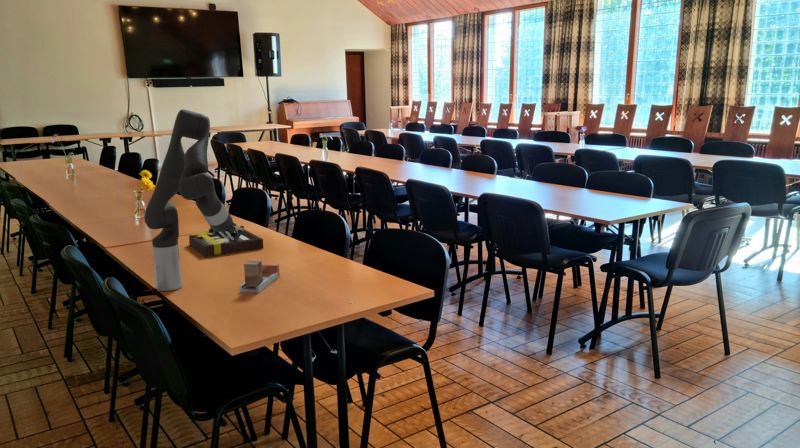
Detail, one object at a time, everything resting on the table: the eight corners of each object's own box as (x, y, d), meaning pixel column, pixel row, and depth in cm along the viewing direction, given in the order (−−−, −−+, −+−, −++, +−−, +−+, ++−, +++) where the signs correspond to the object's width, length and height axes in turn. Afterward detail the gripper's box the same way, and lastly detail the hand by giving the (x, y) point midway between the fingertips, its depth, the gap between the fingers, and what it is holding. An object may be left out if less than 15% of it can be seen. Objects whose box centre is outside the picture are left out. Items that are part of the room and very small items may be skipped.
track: (258, 293, 229) (257, 280, 228) (239, 292, 230) (238, 279, 229) (279, 276, 250) (279, 264, 249) (262, 275, 251) (261, 263, 250)
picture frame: (204, 244, 278) (187, 232, 303) (205, 258, 280) (188, 245, 304) (263, 236, 293) (242, 225, 318) (264, 249, 295) (243, 238, 319)
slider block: (257, 287, 231) (256, 264, 229) (245, 286, 232) (243, 263, 230) (262, 283, 236) (261, 260, 234) (250, 282, 237) (249, 260, 235)
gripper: (238, 206, 203) (255, 234, 217) (201, 205, 205) (220, 233, 219) (232, 225, 199) (250, 252, 213) (195, 224, 201) (215, 250, 215)
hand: (235, 242), depth 216 cm, fingers closed
